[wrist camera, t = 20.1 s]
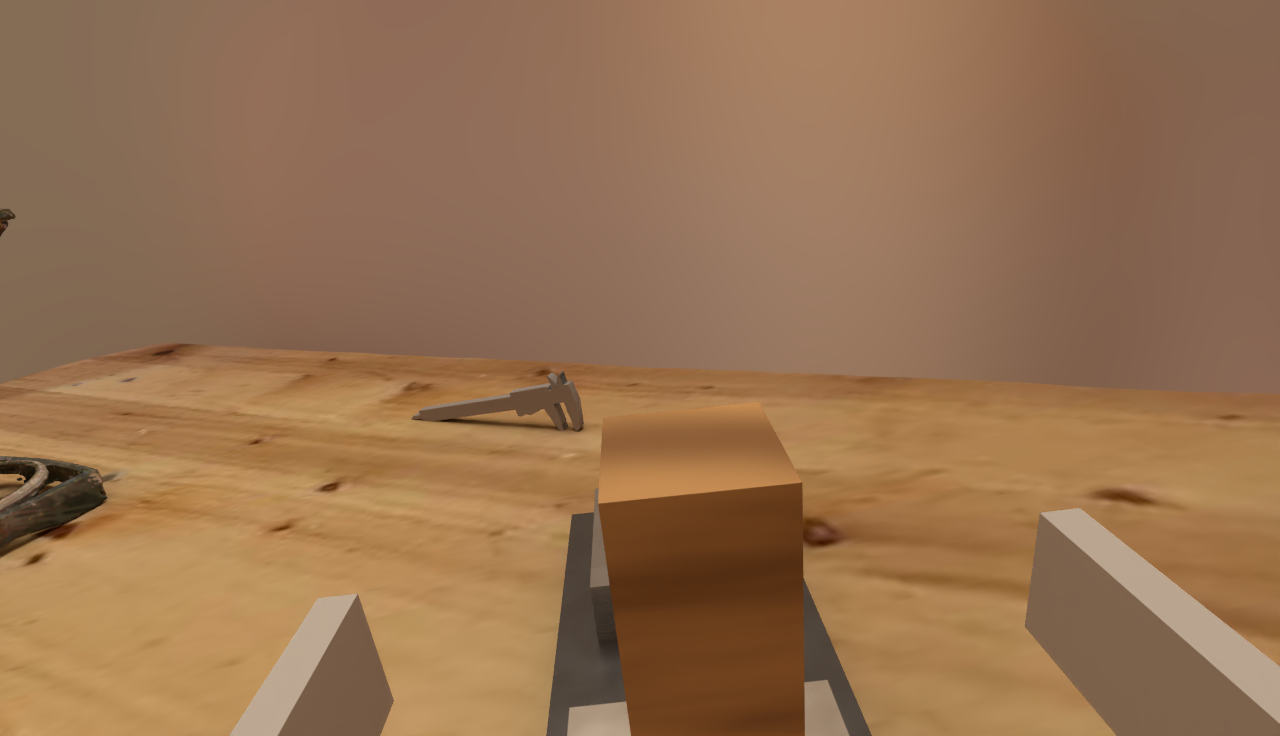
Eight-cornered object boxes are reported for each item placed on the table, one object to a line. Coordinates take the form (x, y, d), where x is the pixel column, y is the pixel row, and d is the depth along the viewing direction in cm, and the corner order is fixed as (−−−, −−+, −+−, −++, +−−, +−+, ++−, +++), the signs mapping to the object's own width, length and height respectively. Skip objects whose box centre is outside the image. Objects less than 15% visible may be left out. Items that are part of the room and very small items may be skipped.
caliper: (585, 429, 62) (576, 370, 60) (580, 434, 61) (571, 374, 59) (418, 417, 69) (405, 365, 67) (412, 422, 68) (398, 368, 66)
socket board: (574, 532, 45) (565, 471, 43) (767, 511, 45) (765, 450, 43) (506, 1193, 17) (470, 1093, 15) (1026, 1136, 17) (1050, 1030, 15)
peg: (650, 773, 25) (603, 418, 20) (771, 761, 25) (758, 402, 20) (656, 917, 21) (598, 503, 15) (806, 902, 21) (802, 482, 15)
